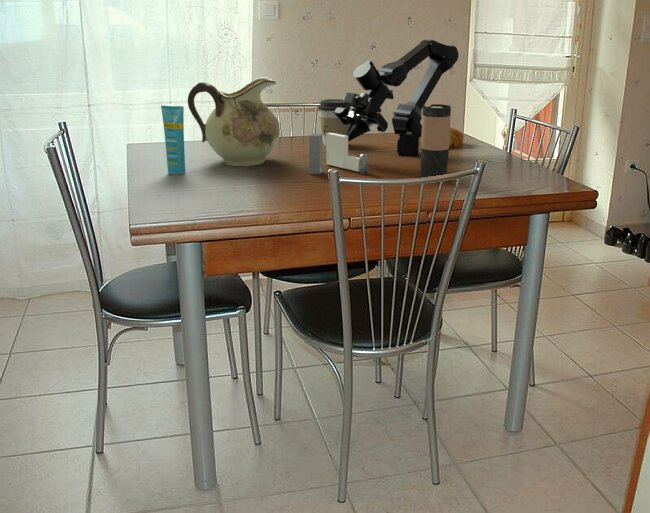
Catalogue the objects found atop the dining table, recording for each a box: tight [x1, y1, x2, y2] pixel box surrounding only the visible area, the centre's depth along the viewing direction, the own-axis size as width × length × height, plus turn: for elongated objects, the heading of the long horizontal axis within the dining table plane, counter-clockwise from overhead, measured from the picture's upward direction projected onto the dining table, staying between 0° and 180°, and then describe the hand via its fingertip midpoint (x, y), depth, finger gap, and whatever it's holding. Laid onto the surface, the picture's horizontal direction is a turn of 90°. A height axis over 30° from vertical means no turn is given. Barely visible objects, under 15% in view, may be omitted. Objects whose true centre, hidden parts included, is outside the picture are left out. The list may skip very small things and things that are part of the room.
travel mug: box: [420, 103, 452, 178], centre depth 198 cm, size 8×8×20 cm
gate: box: [325, 133, 360, 173], centre depth 212 cm, size 14×2×9 cm, turn 40°
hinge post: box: [359, 153, 370, 175], centre depth 207 cm, size 2×2×6 cm
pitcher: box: [187, 76, 281, 167], centre depth 218 cm, size 22×24×25 cm
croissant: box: [449, 126, 464, 149], centre depth 248 cm, size 14×16×8 cm
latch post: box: [308, 133, 323, 175], centre depth 206 cm, size 3×3×11 cm
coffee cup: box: [317, 98, 352, 147], centre depth 246 cm, size 11×11×15 cm
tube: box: [160, 104, 186, 176], centre depth 205 cm, size 7×5×19 cm, turn 72°
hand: (345, 141), depth 215 cm, fingers closed
